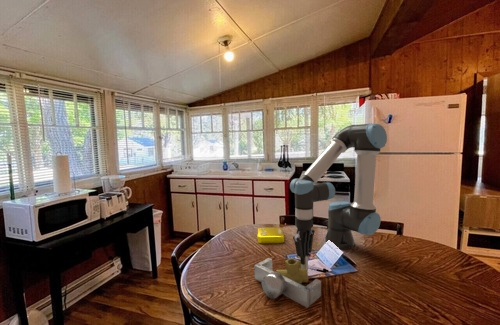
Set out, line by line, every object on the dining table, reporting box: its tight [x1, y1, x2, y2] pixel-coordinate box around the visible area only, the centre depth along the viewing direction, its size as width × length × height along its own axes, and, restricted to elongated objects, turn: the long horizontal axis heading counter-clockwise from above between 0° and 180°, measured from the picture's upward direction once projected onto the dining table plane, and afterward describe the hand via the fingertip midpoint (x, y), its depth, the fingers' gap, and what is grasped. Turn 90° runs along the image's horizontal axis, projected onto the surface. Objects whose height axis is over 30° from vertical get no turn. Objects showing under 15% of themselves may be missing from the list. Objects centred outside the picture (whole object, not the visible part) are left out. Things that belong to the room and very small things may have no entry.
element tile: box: [257, 226, 285, 244], centre depth 147 cm, size 15×15×5 cm
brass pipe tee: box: [276, 257, 309, 285], centre depth 103 cm, size 13×10×10 cm
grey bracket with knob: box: [253, 257, 322, 309], centre depth 96 cm, size 14×26×8 cm, turn 43°
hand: (304, 270), depth 107 cm, fingers closed
